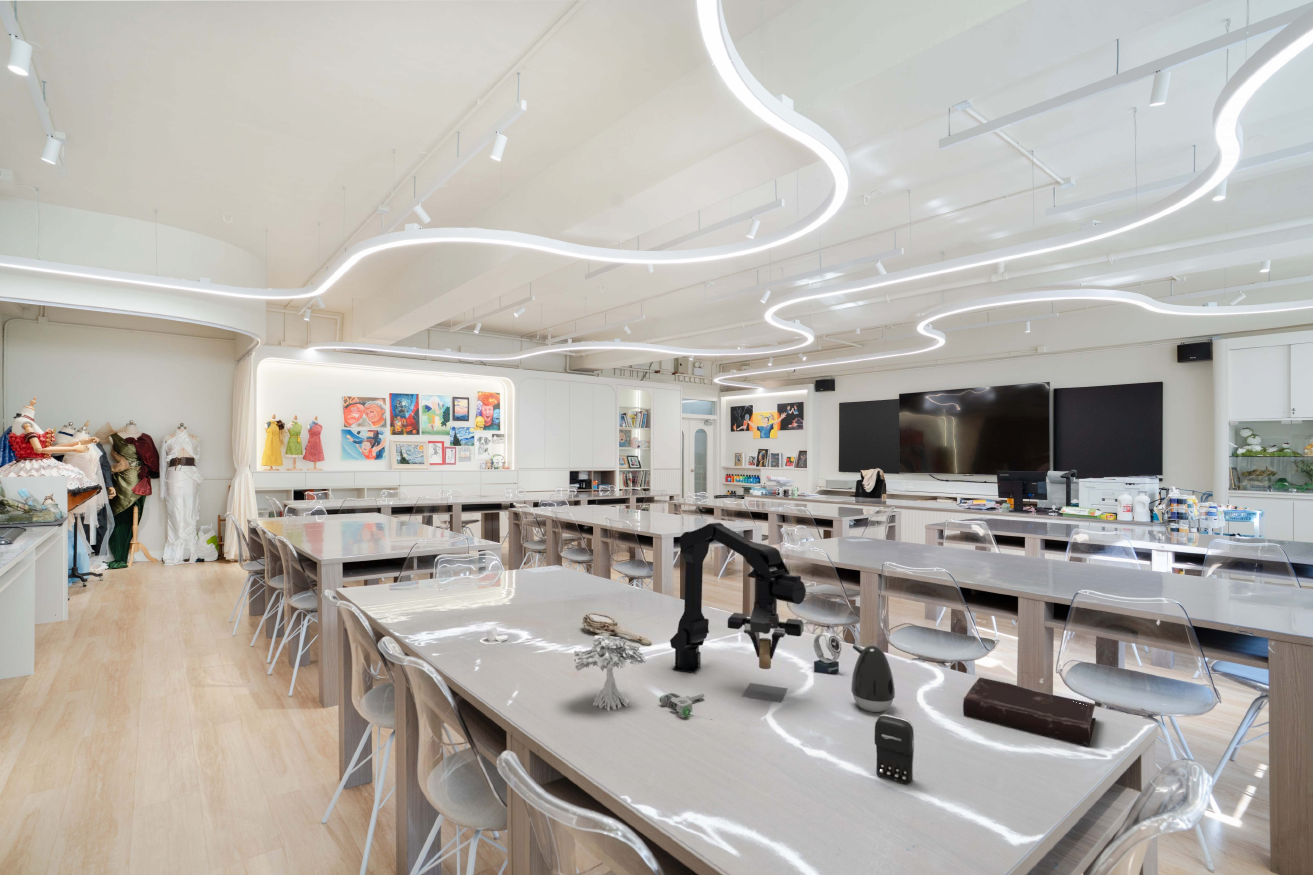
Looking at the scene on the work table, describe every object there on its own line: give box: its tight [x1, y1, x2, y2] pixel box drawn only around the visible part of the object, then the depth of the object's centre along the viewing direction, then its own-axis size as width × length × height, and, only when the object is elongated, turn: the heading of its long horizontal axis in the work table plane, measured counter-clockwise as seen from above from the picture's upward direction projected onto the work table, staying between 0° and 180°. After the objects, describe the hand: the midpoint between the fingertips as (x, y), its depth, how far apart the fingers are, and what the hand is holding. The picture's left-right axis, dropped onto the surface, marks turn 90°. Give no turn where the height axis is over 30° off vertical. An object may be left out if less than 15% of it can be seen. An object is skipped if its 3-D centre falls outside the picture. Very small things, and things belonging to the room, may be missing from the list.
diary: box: [962, 677, 1097, 748], centre depth 150 cm, size 19×25×5 cm
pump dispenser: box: [850, 644, 896, 713], centre depth 155 cm, size 10×10×15 cm
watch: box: [812, 632, 842, 676], centre depth 179 cm, size 6×8×11 cm
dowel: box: [758, 637, 772, 670], centre depth 162 cm, size 3×3×7 cm
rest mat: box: [741, 682, 789, 704], centre depth 161 cm, size 10×10×1 cm
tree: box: [572, 633, 647, 712], centre depth 156 cm, size 18×16×17 cm
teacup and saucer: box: [479, 627, 509, 645], centre depth 206 cm, size 9×8×4 cm
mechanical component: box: [659, 692, 706, 719], centre depth 153 cm, size 3×10×10 cm
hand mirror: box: [581, 612, 653, 646], centre depth 211 cm, size 11×6×30 cm
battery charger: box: [874, 714, 915, 785], centre depth 121 cm, size 7×4×11 cm, turn 56°
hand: (764, 657), depth 162 cm, fingers closed on dowel, 3 cm apart
